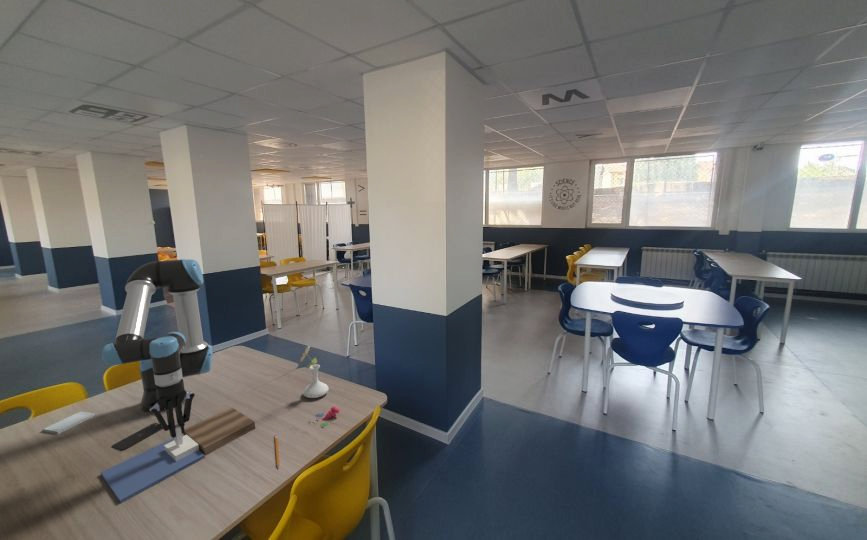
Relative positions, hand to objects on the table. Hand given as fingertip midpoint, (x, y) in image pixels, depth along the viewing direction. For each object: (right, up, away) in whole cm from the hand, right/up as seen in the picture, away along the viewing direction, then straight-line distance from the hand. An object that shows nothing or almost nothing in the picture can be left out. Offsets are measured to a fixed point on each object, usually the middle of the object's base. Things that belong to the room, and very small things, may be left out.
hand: (179, 443), depth 120 cm
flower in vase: (+35, +3, +38) cm, 52 cm away
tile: (0, -3, +1) cm, 3 cm away
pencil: (+35, -4, +1) cm, 35 cm away
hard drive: (-59, -2, +19) cm, 62 cm away
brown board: (+7, -2, +12) cm, 14 cm away
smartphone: (-23, -3, +10) cm, 25 cm away
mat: (-4, -5, -5) cm, 9 cm away
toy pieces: (+45, -1, +19) cm, 49 cm away
